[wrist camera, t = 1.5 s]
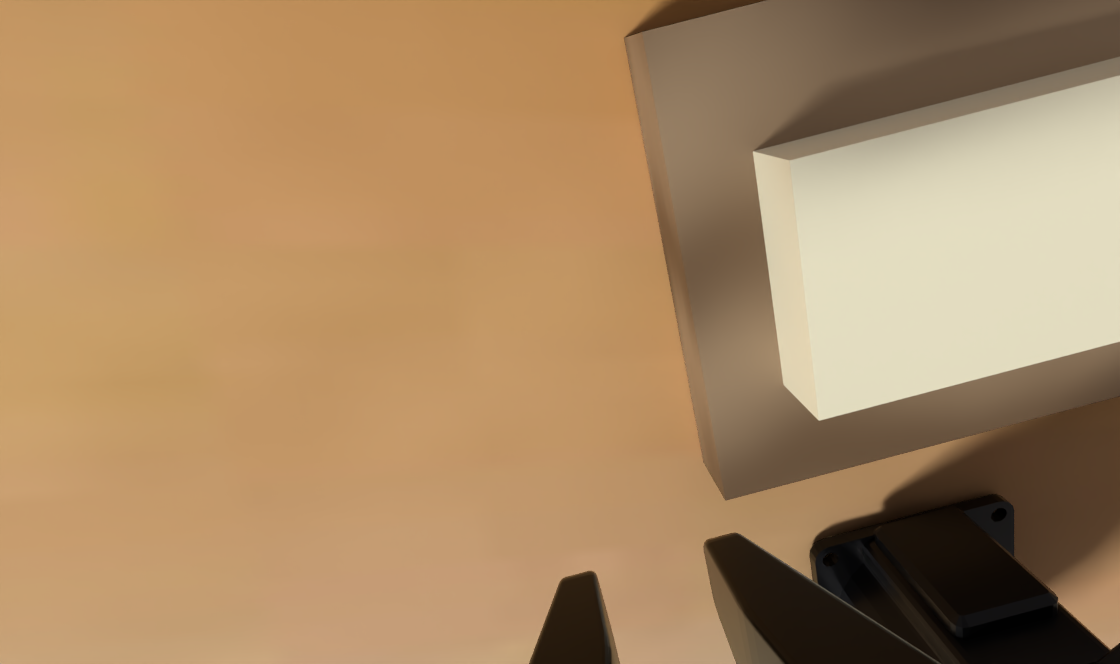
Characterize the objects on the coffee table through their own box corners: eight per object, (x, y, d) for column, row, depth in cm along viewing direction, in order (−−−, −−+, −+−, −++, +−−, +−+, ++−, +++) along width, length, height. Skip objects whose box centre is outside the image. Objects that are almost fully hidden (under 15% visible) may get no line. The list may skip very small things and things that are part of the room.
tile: (1119, 296, 18) (1194, 322, 16) (783, 384, 18) (818, 420, 16) (1134, 52, 16) (1222, 48, 14) (753, 151, 15) (789, 160, 14)
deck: (1087, 361, 21) (1147, 388, 19) (703, 462, 20) (725, 500, 19) (1108, -86, 16) (1188, -108, 15) (624, 38, 16) (642, 32, 14)
